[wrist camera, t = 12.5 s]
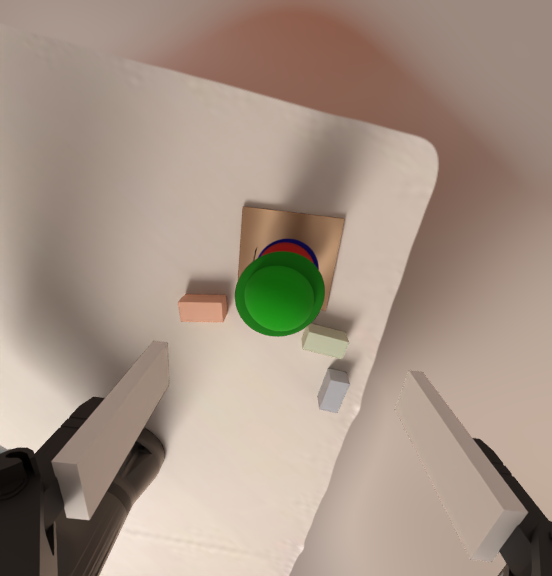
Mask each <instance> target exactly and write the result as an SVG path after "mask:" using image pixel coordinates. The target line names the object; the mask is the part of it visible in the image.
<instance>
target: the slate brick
mask: <svg viewBox="0 0 552 576" xmlns="http://www.w3.org/2000/svg"><path fill="white" fill-rule="evenodd" d="M349 385H350V383H349V380H348V377H347V374H346V372H344V371H339V370H334V369H330V368H328V370H327V372H326V375H325V377H324V380H323V383H322V385H321V388H320V391H319V393H318V396H317V397H318V403H319V409H320V410H325V411H329V412H334V413H338V411H339V408H340V406H341V404H342V401H343V399H344V397H345V394H346V392H347V390H348V387H349Z"/></svg>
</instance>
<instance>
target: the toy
mask: <svg viewBox="0 0 552 576" xmlns="http://www.w3.org/2000/svg"><path fill="white" fill-rule="evenodd" d="M256 250H257V248H256ZM256 250H255V253H254V258H253V262H252V263H250V264H249V265H248V266H247V267H246V268H245V270H244V271H243V272H242V274H241V276H240V277H239V280H238V282H237V285H236V290H235V302H236V307H237V310H238V312H239V315H240V317H241V318H242V319H243V321H244V322H245V323H246V324H247V325H248V326H249V327H250V328H252V329H253V330H255V331H257V332H259V333H261V334H264V335H268V336H287V335H291V334H294V333H296V332H299V331H300V330H302V329H304V328H305V327H307V326H308V325H309V324H310V323H311V322H312V321H313V320H314V319H315V318H316V316H317V315H318V314H319V312H320V310H321V308H322V305H323V302H324V298H325V285H324V281H323V277H322V275H321V273H320V271H319V264H318V260H317V257H316V255H315V253H314V252H313V251H312V249H311V248H310V247H309V246H308V245H306V244H305V243H303V242H301V241H299V240H295V239H280V240H277V241H274V242H272V243H270V244H269V245H267V246H266V247H265V248H264V249H263V250H262V251H261V253H260V254H259V256H258V258H257V259H256V260H255V255H256Z"/></svg>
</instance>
